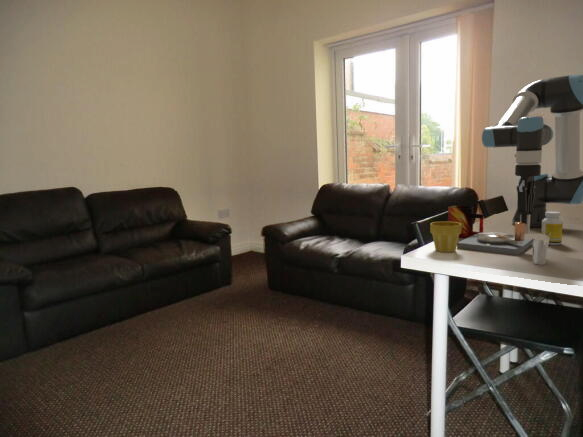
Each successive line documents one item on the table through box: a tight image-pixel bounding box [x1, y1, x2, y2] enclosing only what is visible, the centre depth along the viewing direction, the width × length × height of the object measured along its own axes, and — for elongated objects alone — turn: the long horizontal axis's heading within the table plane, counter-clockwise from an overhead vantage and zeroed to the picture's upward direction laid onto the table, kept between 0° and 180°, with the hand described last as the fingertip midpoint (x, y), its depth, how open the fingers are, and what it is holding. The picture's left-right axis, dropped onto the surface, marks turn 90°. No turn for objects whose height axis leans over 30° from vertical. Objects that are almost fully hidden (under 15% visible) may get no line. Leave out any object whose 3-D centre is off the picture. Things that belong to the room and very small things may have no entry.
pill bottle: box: [540, 211, 563, 246], centre depth 155 cm, size 6×6×12 cm
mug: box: [447, 205, 484, 239], centre depth 173 cm, size 10×14×12 cm
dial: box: [477, 222, 525, 245], centre depth 150 cm, size 18×12×8 cm
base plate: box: [456, 234, 532, 256], centre depth 154 cm, size 20×20×2 cm
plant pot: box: [429, 220, 461, 254], centre depth 149 cm, size 10×10×10 cm
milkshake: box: [531, 233, 551, 266], centre depth 128 cm, size 5×5×10 cm
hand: (524, 233), depth 146 cm, fingers closed
